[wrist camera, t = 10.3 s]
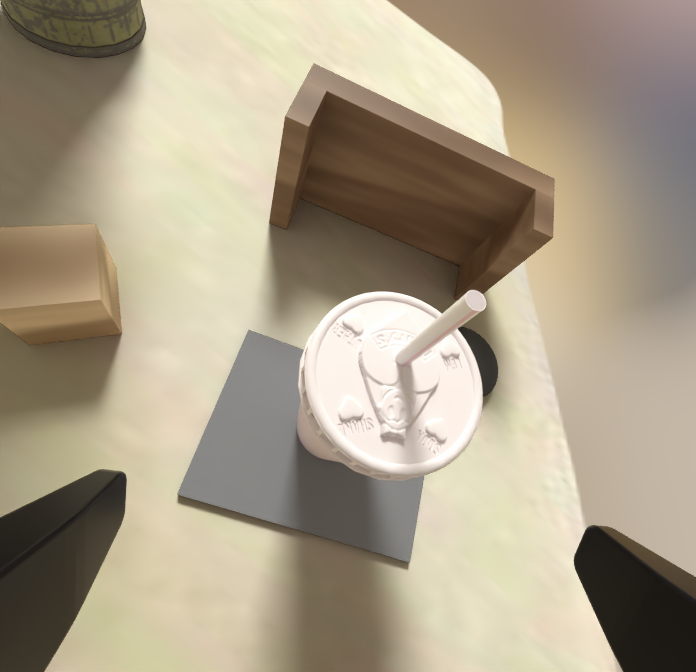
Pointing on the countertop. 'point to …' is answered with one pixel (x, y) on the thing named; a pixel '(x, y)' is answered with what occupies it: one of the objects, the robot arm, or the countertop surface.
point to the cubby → (410, 180)
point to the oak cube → (57, 283)
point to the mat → (291, 462)
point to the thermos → (79, 24)
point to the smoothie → (390, 385)
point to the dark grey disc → (482, 359)
